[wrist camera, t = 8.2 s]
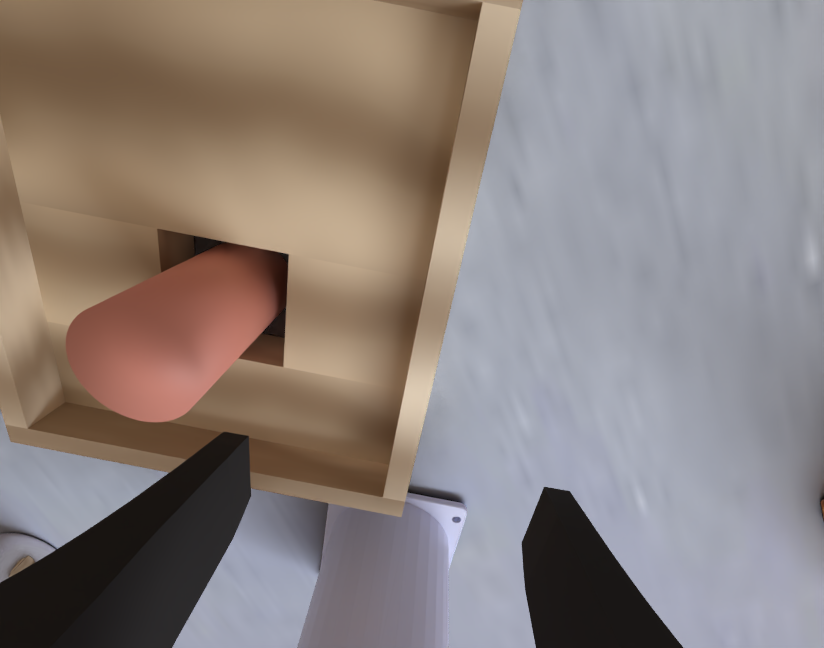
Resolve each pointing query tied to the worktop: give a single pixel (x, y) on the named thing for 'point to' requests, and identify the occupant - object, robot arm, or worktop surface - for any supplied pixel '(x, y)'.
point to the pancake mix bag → (823, 505)
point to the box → (247, 213)
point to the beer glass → (20, 553)
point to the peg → (176, 331)
